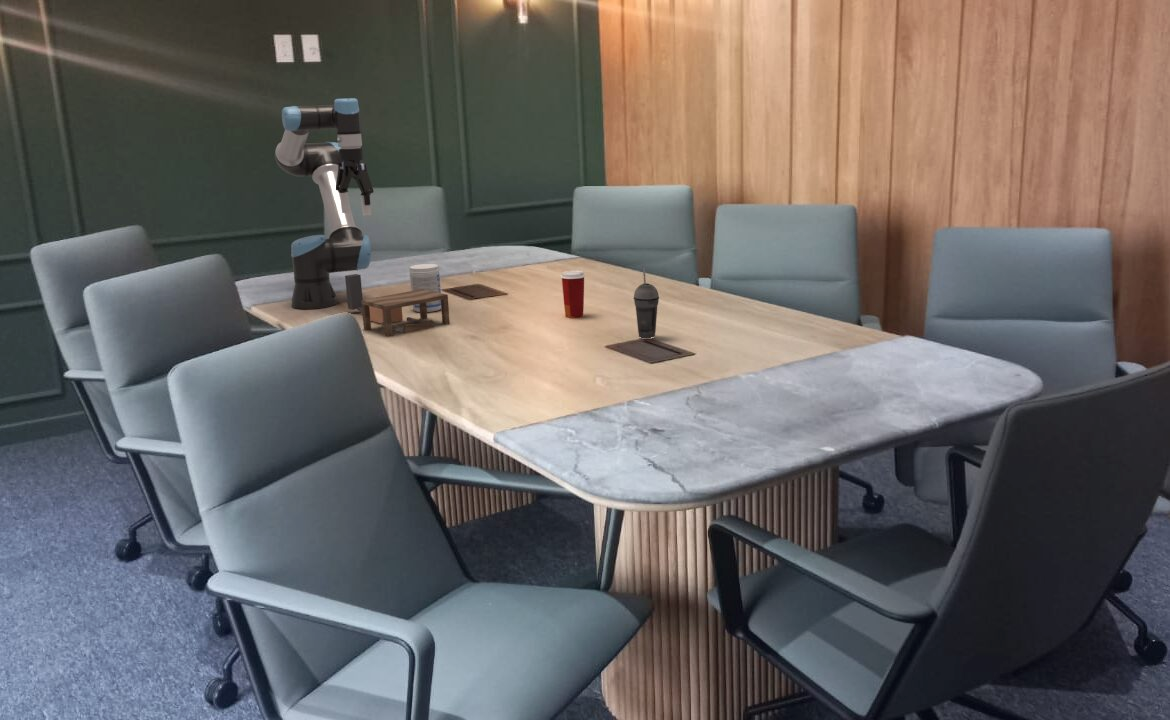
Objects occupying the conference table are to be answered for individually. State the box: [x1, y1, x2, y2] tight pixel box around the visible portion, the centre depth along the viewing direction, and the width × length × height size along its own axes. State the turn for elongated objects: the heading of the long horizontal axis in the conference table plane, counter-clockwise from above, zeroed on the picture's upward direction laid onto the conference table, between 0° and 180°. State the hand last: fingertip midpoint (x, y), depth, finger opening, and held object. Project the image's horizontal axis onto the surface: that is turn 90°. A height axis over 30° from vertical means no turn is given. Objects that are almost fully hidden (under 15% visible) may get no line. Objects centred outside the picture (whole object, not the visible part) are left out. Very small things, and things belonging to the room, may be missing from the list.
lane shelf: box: [361, 289, 451, 337], centre depth 310 cm, size 14×22×9 cm, turn 132°
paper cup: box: [560, 270, 586, 319], centre depth 316 cm, size 8×8×14 cm
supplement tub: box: [409, 263, 442, 313], centre depth 333 cm, size 10×10×15 cm
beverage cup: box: [633, 267, 660, 338], centre depth 286 cm, size 7×7×20 cm
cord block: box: [344, 273, 404, 325], centre depth 325 cm, size 24×7×12 cm, turn 42°
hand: (356, 214), depth 331 cm, fingers open, 13 cm apart
